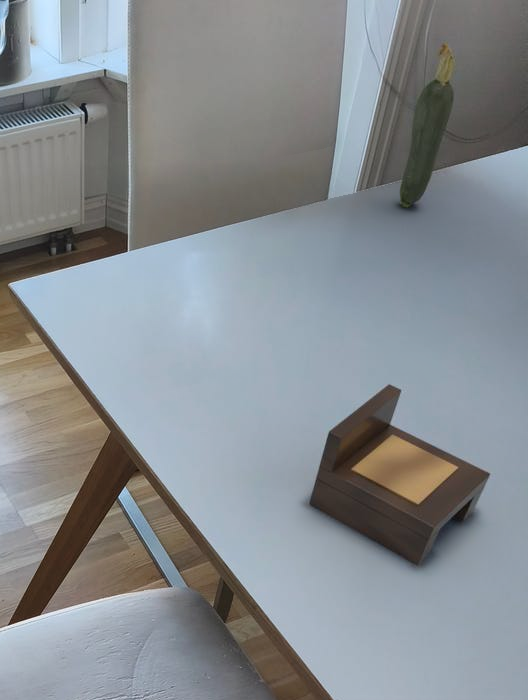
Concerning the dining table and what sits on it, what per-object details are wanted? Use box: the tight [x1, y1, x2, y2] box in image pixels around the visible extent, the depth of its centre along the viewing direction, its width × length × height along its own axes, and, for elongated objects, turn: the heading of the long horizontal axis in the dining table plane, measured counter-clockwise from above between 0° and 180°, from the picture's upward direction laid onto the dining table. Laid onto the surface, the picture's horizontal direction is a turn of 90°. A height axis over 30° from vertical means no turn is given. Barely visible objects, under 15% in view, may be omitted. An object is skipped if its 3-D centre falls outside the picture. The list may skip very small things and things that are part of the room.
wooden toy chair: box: [308, 383, 491, 566], centre depth 82 cm, size 12×10×9 cm
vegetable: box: [399, 43, 456, 208], centre depth 116 cm, size 4×4×20 cm
